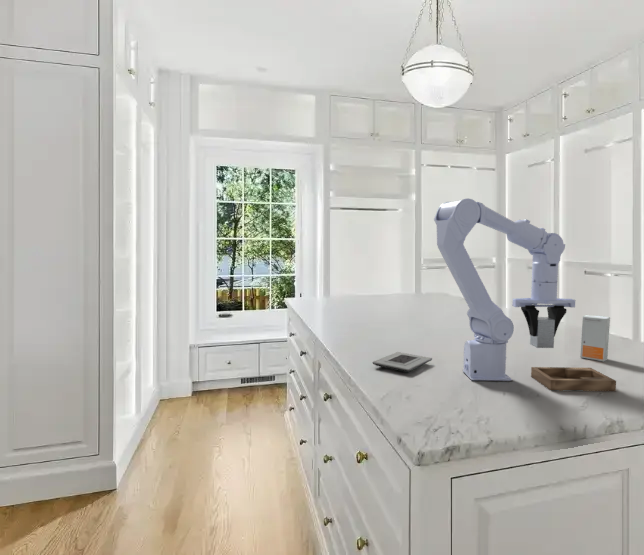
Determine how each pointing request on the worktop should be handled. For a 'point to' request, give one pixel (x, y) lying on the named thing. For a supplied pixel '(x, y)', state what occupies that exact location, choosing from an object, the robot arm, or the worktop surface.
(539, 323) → the metal peg
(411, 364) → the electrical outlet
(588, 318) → the skincare box
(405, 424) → the worktop surface
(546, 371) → the wooden tray
